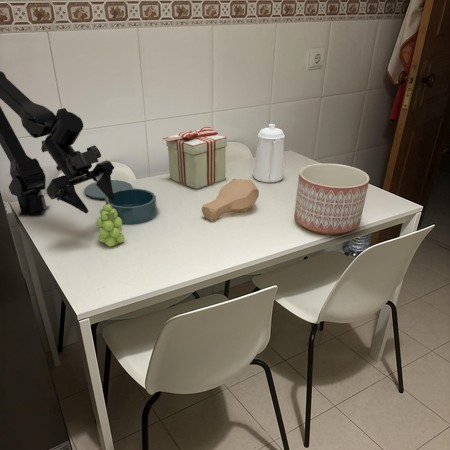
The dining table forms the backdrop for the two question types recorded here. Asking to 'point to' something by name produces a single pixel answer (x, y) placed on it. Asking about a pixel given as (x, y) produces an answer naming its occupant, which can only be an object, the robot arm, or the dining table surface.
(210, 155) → the gift box
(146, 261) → the dining table surface
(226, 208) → the squash
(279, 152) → the coffeepot
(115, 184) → the lid
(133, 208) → the teal round bowl
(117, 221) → the grapes
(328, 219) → the planter
